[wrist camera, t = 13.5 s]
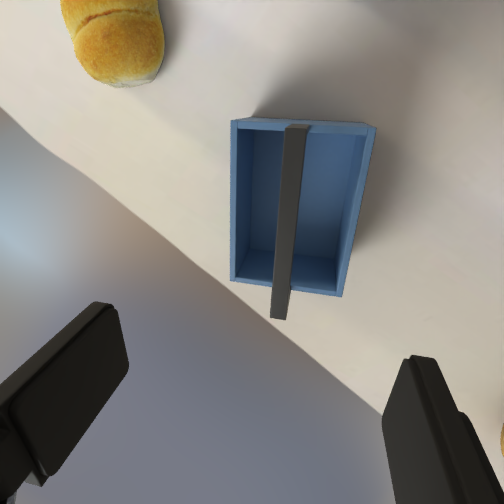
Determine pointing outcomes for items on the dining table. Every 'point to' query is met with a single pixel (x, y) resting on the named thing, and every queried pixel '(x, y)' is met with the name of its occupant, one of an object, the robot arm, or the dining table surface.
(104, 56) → the bread roll
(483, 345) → the dining table surface
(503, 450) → the pot
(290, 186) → the upper bin
